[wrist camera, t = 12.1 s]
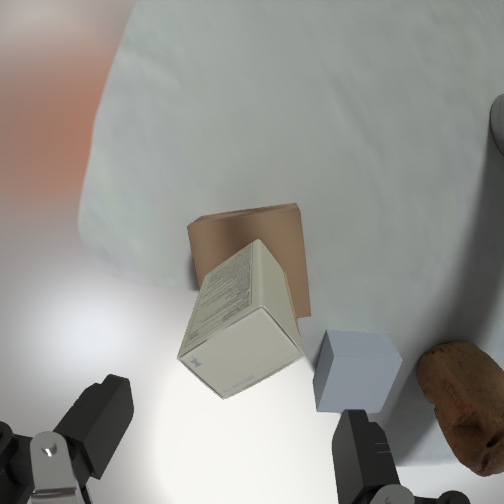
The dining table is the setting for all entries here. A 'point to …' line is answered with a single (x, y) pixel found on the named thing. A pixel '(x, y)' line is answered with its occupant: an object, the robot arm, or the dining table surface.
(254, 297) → the skincare box
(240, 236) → the walnut block
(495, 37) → the dining table surface
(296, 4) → the dining table surface
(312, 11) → the dining table surface
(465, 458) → the block
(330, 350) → the slate block
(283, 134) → the dining table surface
